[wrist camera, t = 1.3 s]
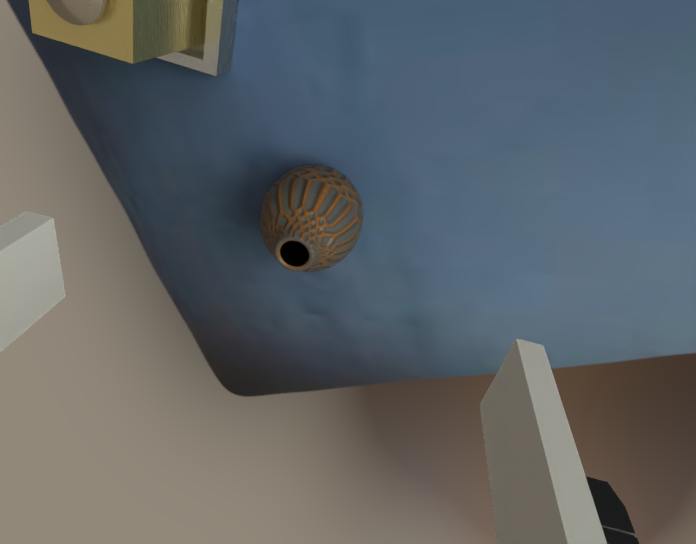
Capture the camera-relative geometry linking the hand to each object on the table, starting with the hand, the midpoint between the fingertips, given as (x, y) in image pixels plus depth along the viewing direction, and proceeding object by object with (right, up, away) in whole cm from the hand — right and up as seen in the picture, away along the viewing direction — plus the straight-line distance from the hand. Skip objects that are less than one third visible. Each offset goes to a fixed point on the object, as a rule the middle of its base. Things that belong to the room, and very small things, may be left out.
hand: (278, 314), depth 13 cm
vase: (0, +7, +22) cm, 23 cm away
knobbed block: (-9, +19, +15) cm, 26 cm away
